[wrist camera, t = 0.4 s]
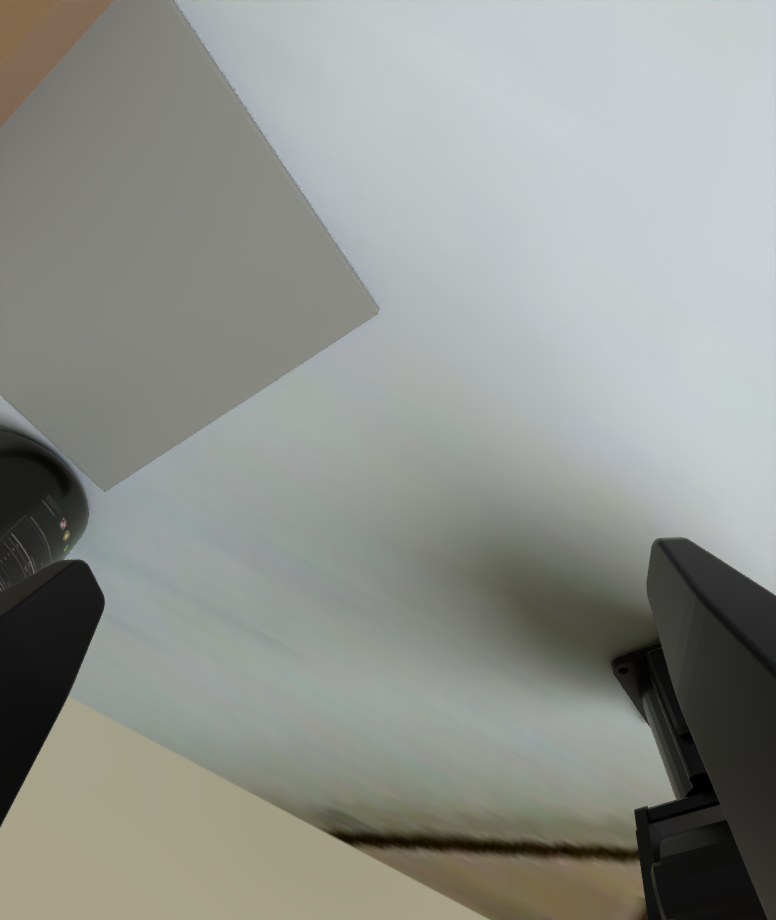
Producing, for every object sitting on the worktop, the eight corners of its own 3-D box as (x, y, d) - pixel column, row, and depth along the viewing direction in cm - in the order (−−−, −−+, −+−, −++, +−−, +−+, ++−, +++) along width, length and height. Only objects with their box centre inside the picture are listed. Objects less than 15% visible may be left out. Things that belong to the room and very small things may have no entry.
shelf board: (379, 308, 19) (372, 332, 17) (111, 484, 24) (78, 520, 22) (121, -78, 14) (64, -115, 12) (-147, 239, 19) (-221, 254, 17)
